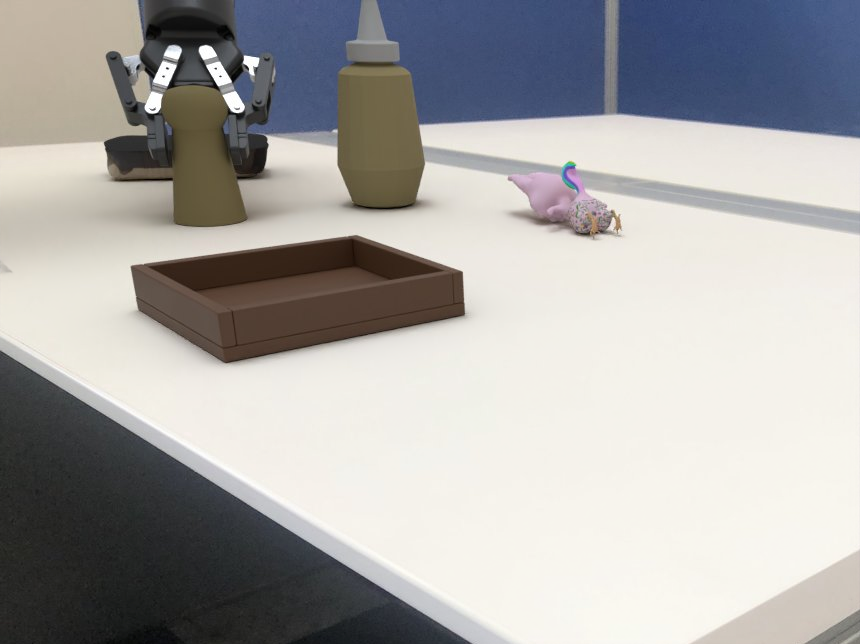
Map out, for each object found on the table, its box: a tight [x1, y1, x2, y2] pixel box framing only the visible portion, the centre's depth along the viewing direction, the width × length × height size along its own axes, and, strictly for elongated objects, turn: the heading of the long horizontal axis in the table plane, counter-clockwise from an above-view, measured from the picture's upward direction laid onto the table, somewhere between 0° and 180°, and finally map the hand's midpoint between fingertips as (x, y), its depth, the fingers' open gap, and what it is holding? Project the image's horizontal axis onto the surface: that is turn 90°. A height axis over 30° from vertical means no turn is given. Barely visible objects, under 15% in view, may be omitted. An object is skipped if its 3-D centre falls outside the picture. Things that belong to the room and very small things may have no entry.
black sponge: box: [103, 132, 270, 180], centre depth 114 cm, size 16×8×4 cm, turn 104°
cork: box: [161, 85, 248, 227], centre depth 91 cm, size 6×6×11 cm
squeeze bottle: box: [336, 0, 426, 209], centre depth 98 cm, size 8×8×18 cm
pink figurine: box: [507, 160, 624, 238], centre depth 94 cm, size 6×6×15 cm
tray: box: [130, 234, 466, 363], centre depth 67 cm, size 16×14×3 cm
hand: (200, 158), depth 89 cm, fingers closed on cork, 5 cm apart
